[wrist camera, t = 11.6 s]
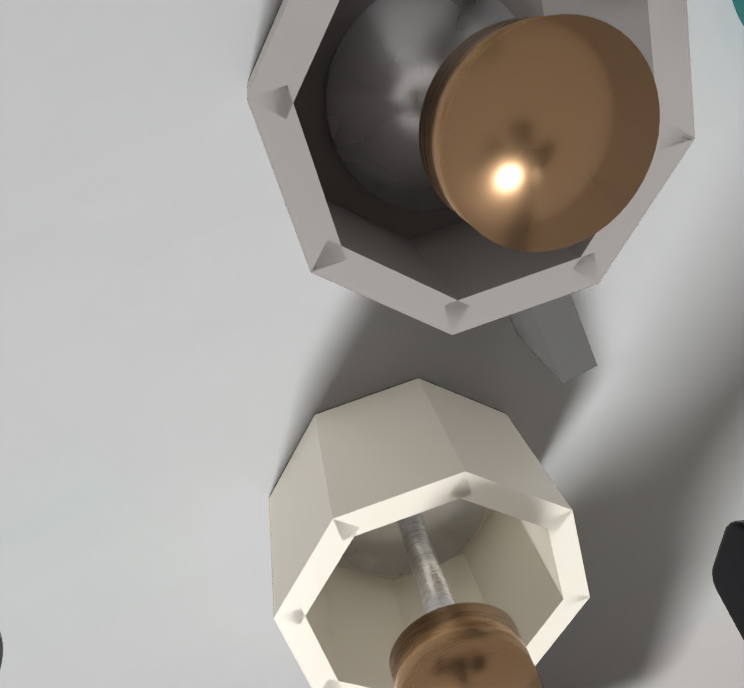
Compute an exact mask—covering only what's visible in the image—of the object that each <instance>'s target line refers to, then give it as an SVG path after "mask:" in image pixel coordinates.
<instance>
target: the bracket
mask: <svg viewBox="0 0 744 688" xmlns="http://www.w3.org/2000/svg"><path fill="white" fill-rule="evenodd" d="M732 1H733V4H734V6H735V9H736V12H737V14H738V16H739V18H740V20H741V22H742V24H743V25H744V0H732Z"/></svg>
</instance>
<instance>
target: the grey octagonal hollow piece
mask: <svg viewBox="0 0 744 688" xmlns="http://www.w3.org/2000/svg"><path fill="white" fill-rule="evenodd" d="M373 1H374V0H283V1H282V3H281V6H280V8H279V10H278V13H277V15H276V17H275V20H274V22H273V25H272V27H271V29H270V32H269V34H268V36H267V39H266V41H265V43H264V46H263V48H262V50H261V53H260V55H259V58H258V60H257V62H256V65H255V67H254V69H253V72H252V74H251V76H250V79H249V81H248V86H247V100H248V103H249V106H250V109H251V111H252V114H253V117H254V119H255V122H256V125H257V128H258V130H259V133H260V136H261V139H262V141H263V144H264V147H265V149H266V152H267V155H268V158H269V160H270V163H271V166H272V168H273V171H274V174H275V177H276V179H277V182H278V185H279V187H280V190H281V193H282V196H283V198H284V201H285V204H286V207H287V209H288V212H289V215H290V217H291V220H292V223H293V226H294V228H295V231H296V234H297V236H298V239H299V242H300V245H301V247H302V250H303V253H304V255H305V258H306V261H307V264H308V266H309V269H310V272H311V273H313V274H316V275H318V276H320V277H322V278H325V279H327V280H329V281H331V282H334V283H336V284H338V285H340V286H343V287H345V288H347V289H349V290H352V291H354V292H356V293H358V294H361V295H363V296H365V297H367V298H370V299H372V300H374V301H376V302H379V303H381V304H383V305H385V306H388V307H390V308H392V309H394V310H397V311H399V312H401V313H403V314H406V315H408V316H410V317H412V318H415V319H417V320H419V321H421V322H424V323H426V324H428V325H430V326H433V327H435V328H437V329H439V330H442V331H444V332H446V333H448V334H451V335H454V334H457V333H460V332H463V331H466V330H468V329H471V328H474V327H477V326H480V325H483V324H485V323H488V322H491V321H494V320H497V319H500V318H502V317H505V316H508V315H509V316H510V319H511V321H512V323H513V325H514V328H515V330H516V332H517V334H518V335H519V336H520V337H521V339H522V340H523V341H524V342H525V343H526V344H527V345H528V346H529V347H530V348H531V349H532V351H533V352H534V353H535V354H536V355H537V356H538V357H539V358H540V359H541V360H542V361H543V363H544V364H545V365H546V366H547V367H548V368H549V369H550V370H551V371H552V372H553V373H554V375H555V376H556V377H557V378H558V379H559V380H560V381H561V382H562V383H565V382H567V381H569V380H571V379H573V378H575V377H576V376H578V375H580V374H582V373H584V372H586V371H588V370H590V369H592V368H594V367H595V366H597V364H596V361H595V358H594V356H593V353H592V351H591V348H590V345H589V343H588V340H587V337H586V335H585V332H584V329H583V327H582V324H581V322H580V319H579V316H578V314H577V311H576V308H575V306H574V303H573V300H572V298H571V295H570V293H573V292H576V291H579V290H582V289H585V288H588V287H590V286H593V285H596V284H599V282H600V281H601V279H602V278H603V276H604V275H605V273H606V272H607V270H608V269H609V267H610V266H611V264H612V263H613V261H614V260H615V258H616V257H617V255H618V254H619V252H620V251H621V249H622V248H623V246H624V245H625V243H626V242H627V240H628V239H629V237H630V236H631V234H632V232H633V231H634V229H635V228H636V226H637V225H638V223H639V222H640V220H641V219H642V217H643V216H644V214H645V213H646V211H647V210H648V208H649V207H650V205H651V204H652V202H653V201H654V199H655V198H656V196H657V195H658V193H659V192H660V190H661V189H662V187H663V186H664V184H665V183H666V181H667V180H668V178H669V177H670V175H671V174H672V172H673V171H674V169H675V168H676V166H677V165H678V163H679V162H680V160H681V159H682V157H683V156H684V154H685V153H686V151H687V150H688V148H689V147H690V145H691V144H692V142H693V141H694V139H695V132H694V116H693V99H692V82H691V66H690V49H689V32H688V15H687V0H498V1H500V2H501V3H502V4H503V5H504V6H505V7H506V8H507V9H508V10H509V11H510V12H511V13H512V14H513V16H514V17H515V18H524V17H536V16H547V15H558V14H576V15H583V16H588V17H593V18H596V19H598V20H601V21H604V22H606V23H608V24H610V25H612V26H613V27H615V28H617V29H618V30H620V31H621V32H622V33H623V34H625V35H626V36H627V37H628V38H629V39H631V41H632V42H633V43H634V44H635V45H636V46H637V48H638V49H639V50H640V51H641V53H642V55H643V56H644V58H645V59H646V61H647V63H648V65H649V67H650V69H651V72H652V74H653V76H654V80H655V83H656V87H657V91H658V98H659V105H660V125H659V135H658V140H657V145H656V150H655V153H654V156H653V159H652V162H651V165H650V167H649V170H648V172H647V174H646V176H645V179H644V180H643V182H642V184H641V186H640V187H639V189H638V191H637V192H636V194H635V195H634V197H633V198H632V199H631V201H630V202H629V203H628V205H627V206H626V207H625V208H624V209H623V210H622V211H621V213H620V214H619V215H618V216H617V217H616V218H615V219H613V220H612V221H611V222H610V223H609V224H608V225H607V226H605V227H604V228H603V229H601V230H600V231H598V232H597V233H596V234H594V235H592V236H590V237H589V238H587V239H585V240H583V241H581V242H579V243H576V244H574V245H571V246H569V247H565V248H562V249H558V250H552V251H546V252H526V251H518V250H514V249H510V248H506V247H504V246H501V245H499V244H497V243H494V242H493V241H491V240H489V239H488V238H486V237H484V236H483V235H482V234H480V233H479V232H478V231H477V230H476V229H474V228H473V227H472V226H471V225H470V224H468V223H467V222H466V221H465V220H464V219H462V218H461V217H460V216H459V215H458V214H456V213H455V212H454V211H453V210H452V209H450V208H447V209H441V210H426V211H421V210H413V209H407V208H403V207H400V206H396V205H394V204H391V203H389V202H387V201H384V200H383V199H381V198H379V197H378V196H376V195H374V194H373V193H371V192H370V191H369V190H368V189H366V188H365V187H364V186H363V185H362V184H361V183H360V182H359V181H358V180H357V179H356V178H355V177H354V176H353V175H352V173H351V172H350V171H349V169H348V168H347V167H346V165H345V164H344V163H343V161H342V159H341V157H340V156H339V154H338V152H337V150H336V148H335V145H334V143H333V140H332V138H331V135H330V131H329V127H328V123H327V116H326V108H325V91H326V83H327V76H328V72H329V68H330V64H331V60H332V58H333V55H334V52H335V50H336V47H337V45H338V43H339V42H340V40H341V38H342V36H343V34H344V33H345V31H346V30H347V28H348V27H349V26H350V24H351V23H352V21H353V20H354V19H355V18H356V17H357V16H358V15H359V14H360V13H361V12H362V10H363V9H365V8H366V7H367V6H368V5H369V4H371V3H372V2H373Z"/></svg>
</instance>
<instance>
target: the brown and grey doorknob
mask: <svg viewBox="0 0 744 688" xmlns="http://www.w3.org/2000/svg"><path fill="white" fill-rule="evenodd" d="M484 513H485V507H484V506H481V505H478V504H475V503H472V502H469V501H466V500H463V499H457V500H454V501H451V502H449V503H446V504H443V505H440V506H438V507H435V508H432V509H429V510H426V511H424V512H421V513H418V514H415V515H412V516H410V517H407V518H404V519H401V520H399V521H396V522H393V523H390V524H387V525H385V526H382V527H379V528H376V529H373V530H371V531H368V532H365V533H362V534H360V535H357V536H354V538H353V539H352V541H351V542H350V544H349V546H348V547H347V549H346V551H345V552H344V554H343V555H342V556H343V557H344V558H345V559H346V560H347V561H348V562H350V563H351V564H352V565H354V566H356V567H358V568H360V569H362V570H364V571H367V572H370V573H374V574H379V575H387V576H402V575H410V574H413V575H414V578H415V581H416V585H417V588H418V591H419V594H420V598H421V601H422V604H423V607H424V611H425V615H423V616H421V617H420V618H418V619H417V620H415V621H414V622H413V623H412V624H410V625H409V626H408V627H407V628H406V629H405V630H404V631H403V632H402V633H401V634H400V636H399V637H398V638H397V640H396V642H395V643H394V645H393V648H392V650H391V653H390V657H389V667H390V673H391V677H392V682H393V686H394V688H543V687H542V682H541V679H540V676H539V674H538V672H537V670H536V668H535V665H534V663H533V661H532V659H531V657H530V655H529V652H528V650H527V648H526V646H525V644H524V641H523V639H522V637H521V635H520V633H519V630H518V628H517V626H516V624H515V622H514V621H513V619H512V618H511V617H510V616H509V615H508V614H507V613H506V612H504V611H503V610H501V609H499V608H497V607H495V606H492V605H488V604H484V603H475V602H465V603H456V604H455V603H454V600H453V597H452V594H451V592H450V589H449V586H448V583H447V581H446V578H445V575H444V572H443V570H442V567H441V564H442V563H444V562H446V561H447V560H449V559H450V558H452V557H453V556H455V555H456V554H457V553H459V552H460V551H461V550H462V549H463V548H464V547H465V546H466V545H467V544H468V543H469V542H470V540H471V539H472V538H473V537H474V535H475V534H476V532H477V530H478V529H479V527H480V524H481V522H482V520H483V516H484Z"/></svg>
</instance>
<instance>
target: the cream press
mask: <svg viewBox="0 0 744 688" xmlns="http://www.w3.org/2000/svg"><path fill="white" fill-rule="evenodd" d="M457 499H463V500H466V501H469V502H472V503H475V504H478V505H481V506H484V507H485V513H484V516H483V520H482V522H481V524H480V527H479V529H478V530H477V532H476V534H475V535H474V537H473V538H472V539H471V540H470V542H469V543H468V544H467V545H466V546H465V547H464V548H463V549H462V550H461V551H460V552H459V553H457V554H456V555H455V556H453V557H452V558H450V559H449V560H447V561H446V562H444V563H442V564H441V567H442V570H443V572H444V575H445V578H446V581H447V583H448V586H449V589H450V592H451V594H452V597H453V600H454V603H455V604H456V603H465V602H475V603H484V604H488V605H492V606H495V607H497V608H499V609H501V610H503V611H504V612H506V613H507V614H508V615H509V616H510V617H511V618H512V619H513V621H514V622H515V624H516V626H517V628H518V630H519V633H520V635H521V637H522V639H523V641H524V644H525V646H526V648H527V650H528V652H529V655H530V657H531V659H532V661H533V663H534V665H535V666H536V664H537V663H538V662H539V661H540V659H541V658H542V657H543V656H544V654H545V653H546V652H547V651H548V649H549V648H550V647H551V646H552V644H553V643H554V642H555V640H556V639H557V638H558V637H559V635H560V634H561V633H562V632H563V630H564V629H565V628H566V627H567V625H568V624H569V623H570V622H571V620H572V619H573V618H574V617H575V615H576V614H577V613H578V612H579V610H580V609H581V608H582V607H583V605H584V604H585V603H586V602H587V600H588V599H589V598H590V595H589V590H588V585H587V580H586V575H585V570H584V565H583V560H582V555H581V550H580V545H579V540H578V535H577V530H576V525H575V520H574V515H573V510H572V509H571V507H570V506H569V504H568V503H567V501H566V500H565V499H564V497H563V496H562V494H561V493H560V491H559V490H558V488H557V487H556V486H555V484H554V483H553V481H552V480H551V478H550V477H549V475H548V474H547V472H546V471H545V470H544V468H543V467H542V465H541V464H540V462H539V461H538V459H537V458H536V457H535V455H534V454H533V452H532V451H531V449H530V448H529V446H528V445H527V443H526V442H525V441H524V439H523V438H522V436H521V435H520V433H519V432H518V430H517V429H516V428H515V426H514V425H513V423H512V422H511V420H510V419H509V417H508V416H507V414H505V413H503V412H500V411H498V410H495V409H493V408H490V407H488V406H485V405H483V404H481V403H478V402H476V401H473V400H471V399H468V398H466V397H463V396H461V395H459V394H456V393H454V392H451V391H449V390H446V389H444V388H441V387H439V386H436V385H434V384H432V383H429V382H427V381H424V380H422V379H419V378H417V379H414V380H411V381H409V382H406V383H403V384H400V385H397V386H395V387H392V388H389V389H386V390H383V391H380V392H378V393H375V394H372V395H369V396H366V397H363V398H361V399H358V400H355V401H352V402H349V403H346V404H344V405H341V406H338V407H335V408H332V409H330V410H327V411H324V412H321V413H318V414H315V415H314V417H313V419H312V421H311V422H310V424H309V426H308V428H307V430H306V432H305V433H304V435H303V437H302V439H301V441H300V442H299V444H298V446H297V448H296V450H295V452H294V453H293V455H292V457H291V459H290V461H289V463H288V464H287V466H286V468H285V470H284V472H283V474H282V475H281V477H280V479H279V481H278V483H277V484H276V486H275V488H274V490H273V492H272V494H271V495H270V497H269V516H270V540H271V564H272V588H273V612H274V619H275V621H276V623H277V625H278V627H279V629H280V631H281V632H282V634H283V636H284V638H285V640H286V642H287V643H288V645H289V647H290V649H291V651H292V653H293V654H294V656H295V658H296V660H297V662H298V664H299V665H300V667H301V669H302V671H303V673H304V675H305V676H306V678H307V680H308V682H309V684H310V686H311V687H312V688H394V686H393V682H392V677H391V673H390V667H389V657H390V653H391V650H392V648H393V645H394V643H395V642H396V640H397V638H398V637H399V636H400V634H401V633H402V632H403V631H404V630H405V629H406V628H407V627H408V626H409V625H410V624H412V623H413V622H414V621H415V620H417V619H418V618H420V617H421V616H423V615H425V611H424V607H423V604H422V601H421V598H420V594H419V591H418V588H417V585H416V581H415V578H414V575H413V574H410V575H402V576H387V575H379V574H374V573H370V572H367V571H364V570H362V569H360V568H358V567H356V566H354V565H352V564H351V563H350V562H348V561H347V560H346V559H345V558H344V557H343V556H342V555H343V554H344V552H345V551H346V549H347V547H348V546H349V544H350V542H351V541H352V539H353V538H354V536H357V535H360V534H362V533H365V532H368V531H371V530H373V529H376V528H379V527H382V526H385V525H387V524H390V523H393V522H396V521H399V520H401V519H404V518H407V517H410V516H412V515H415V514H418V513H421V512H424V511H426V510H429V509H432V508H435V507H438V506H440V505H443V504H446V503H449V502H451V501H454V500H457Z"/></svg>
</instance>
